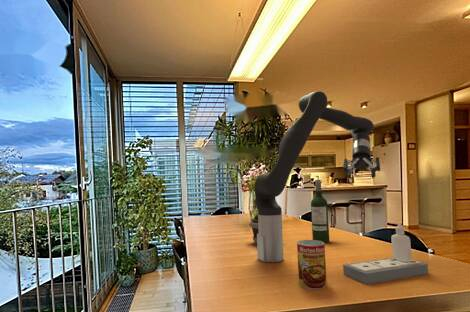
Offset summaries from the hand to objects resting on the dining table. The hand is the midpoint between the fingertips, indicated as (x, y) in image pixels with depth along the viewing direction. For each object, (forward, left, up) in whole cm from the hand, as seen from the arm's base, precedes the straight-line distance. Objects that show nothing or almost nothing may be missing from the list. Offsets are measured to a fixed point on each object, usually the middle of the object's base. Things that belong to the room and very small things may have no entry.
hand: (361, 177), depth 123 cm
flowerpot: (-27, +37, -31) cm, 55 cm away
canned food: (-38, -21, -31) cm, 53 cm away
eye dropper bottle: (-5, -22, -28) cm, 35 cm away
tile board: (-12, -22, -31) cm, 40 cm away
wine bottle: (-1, +29, -31) cm, 42 cm away
